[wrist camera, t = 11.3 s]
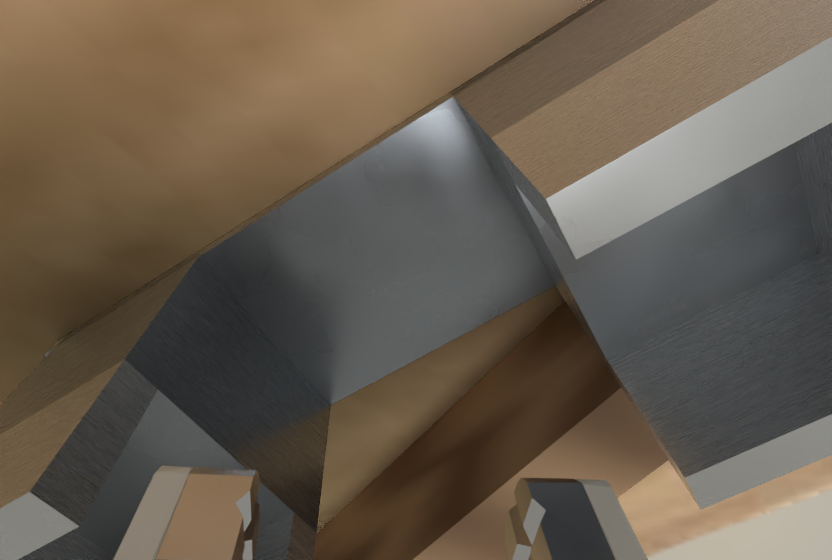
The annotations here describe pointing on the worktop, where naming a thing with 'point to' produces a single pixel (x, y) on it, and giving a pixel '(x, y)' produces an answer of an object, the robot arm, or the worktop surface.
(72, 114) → the worktop surface
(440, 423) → the rail
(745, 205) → the bracket stand
